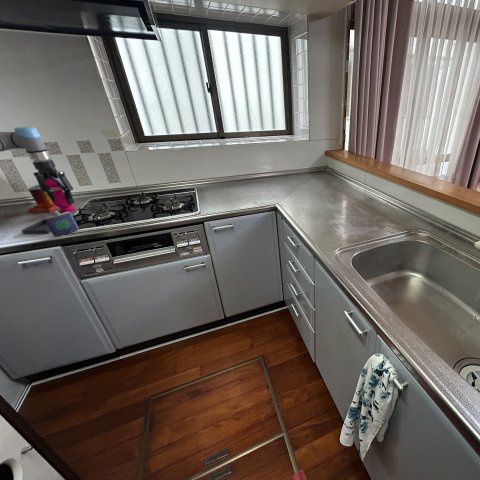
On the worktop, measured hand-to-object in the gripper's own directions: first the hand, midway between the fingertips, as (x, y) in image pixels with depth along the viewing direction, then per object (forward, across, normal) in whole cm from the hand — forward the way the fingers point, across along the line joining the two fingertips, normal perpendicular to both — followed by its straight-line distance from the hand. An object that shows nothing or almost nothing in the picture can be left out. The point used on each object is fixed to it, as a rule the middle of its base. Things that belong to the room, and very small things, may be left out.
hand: (64, 203), depth 144 cm
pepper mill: (+4, 0, 0) cm, 4 cm away
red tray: (+4, -14, +4) cm, 15 cm away
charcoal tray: (+4, +6, -21) cm, 22 cm away
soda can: (+4, -14, +4) cm, 15 cm away
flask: (+4, +20, -26) cm, 33 cm away
